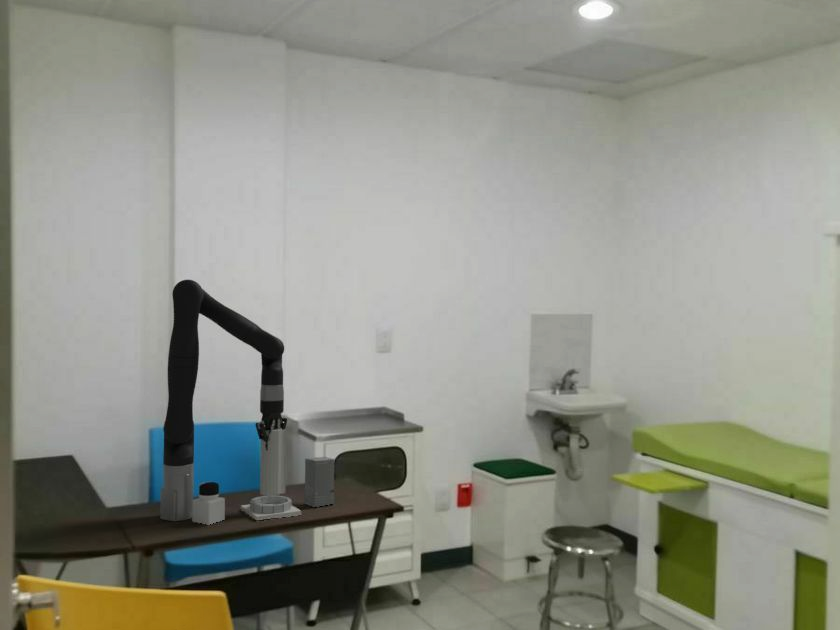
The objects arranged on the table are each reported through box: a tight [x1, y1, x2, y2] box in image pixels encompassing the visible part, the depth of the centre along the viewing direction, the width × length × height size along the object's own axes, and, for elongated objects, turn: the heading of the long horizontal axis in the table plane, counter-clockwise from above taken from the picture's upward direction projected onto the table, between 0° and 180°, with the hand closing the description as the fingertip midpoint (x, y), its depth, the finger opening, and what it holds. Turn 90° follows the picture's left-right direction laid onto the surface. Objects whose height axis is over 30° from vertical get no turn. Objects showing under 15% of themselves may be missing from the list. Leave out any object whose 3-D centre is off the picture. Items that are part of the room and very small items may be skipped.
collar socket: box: [240, 495, 302, 521], centre depth 270 cm, size 15×15×4 cm
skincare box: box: [304, 456, 335, 508], centre depth 281 cm, size 8×7×16 cm
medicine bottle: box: [191, 481, 226, 526], centre depth 259 cm, size 7×7×12 cm
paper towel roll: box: [259, 428, 287, 496], centre depth 269 cm, size 7×6×21 cm
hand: (271, 450), depth 269 cm, fingers closed on paper towel roll, 3 cm apart
